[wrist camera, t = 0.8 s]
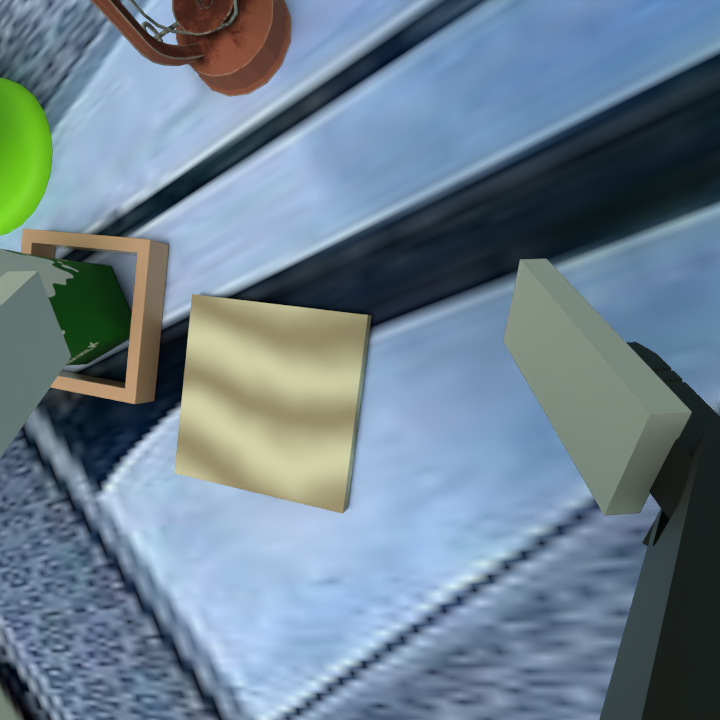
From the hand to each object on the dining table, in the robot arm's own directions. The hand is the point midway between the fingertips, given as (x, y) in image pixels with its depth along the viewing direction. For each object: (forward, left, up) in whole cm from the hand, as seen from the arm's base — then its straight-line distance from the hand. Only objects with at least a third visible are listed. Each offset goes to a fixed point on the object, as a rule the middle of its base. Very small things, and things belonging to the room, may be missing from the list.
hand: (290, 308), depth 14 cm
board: (+7, -13, -26) cm, 30 cm away
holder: (+2, -32, -26) cm, 41 cm away
